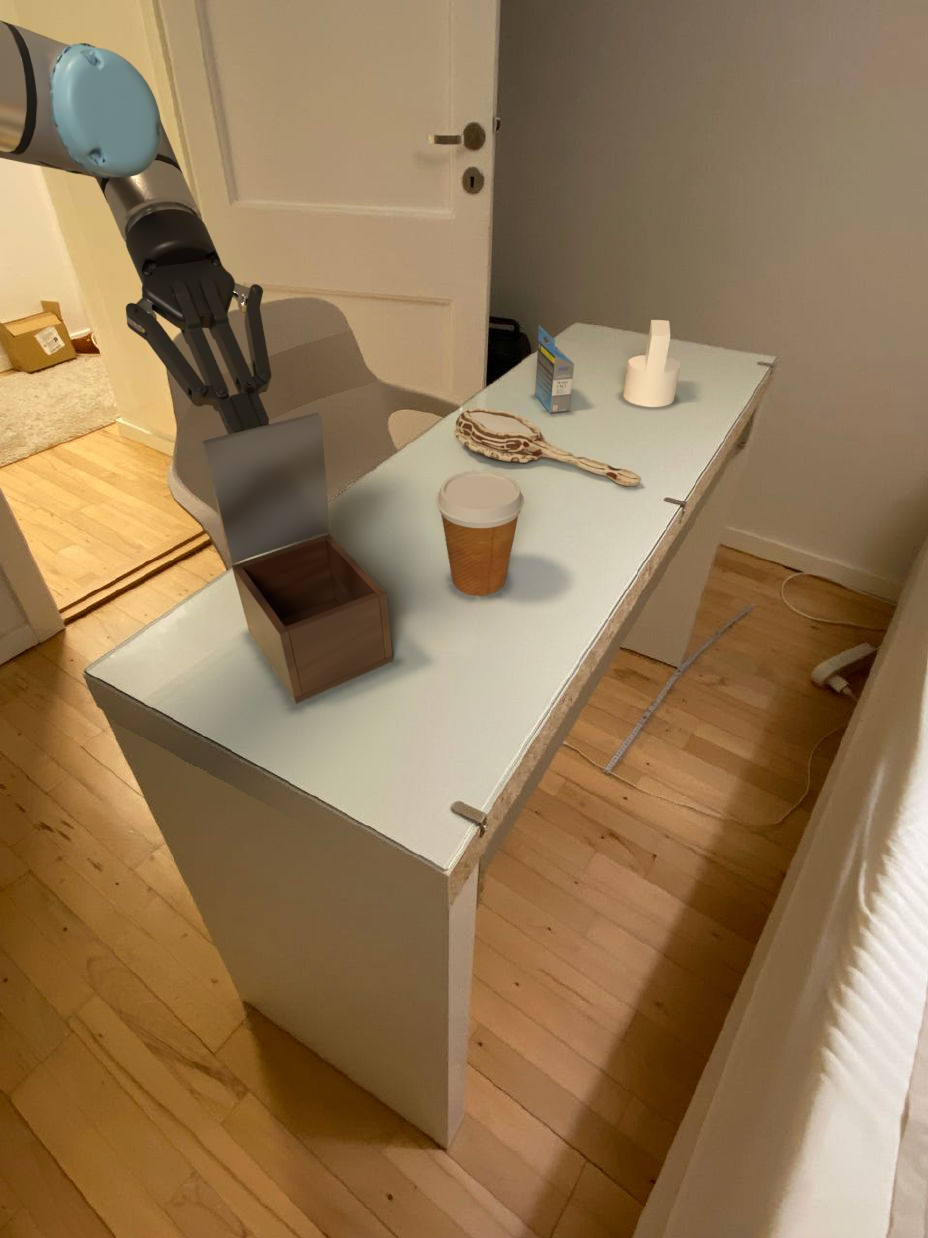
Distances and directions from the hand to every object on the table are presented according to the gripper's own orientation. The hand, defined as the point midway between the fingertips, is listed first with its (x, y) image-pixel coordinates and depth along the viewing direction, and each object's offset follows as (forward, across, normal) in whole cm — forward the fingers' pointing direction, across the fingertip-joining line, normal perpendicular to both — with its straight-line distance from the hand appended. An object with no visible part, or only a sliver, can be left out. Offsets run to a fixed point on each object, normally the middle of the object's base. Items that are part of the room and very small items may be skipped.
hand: (264, 463), depth 64 cm
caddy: (+17, 0, -8) cm, 19 cm away
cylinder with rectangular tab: (-3, -78, -29) cm, 83 cm away
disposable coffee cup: (+17, -20, -9) cm, 28 cm away
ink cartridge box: (-8, -61, -34) cm, 71 cm away
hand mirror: (+4, -46, -22) cm, 51 cm away
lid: (+3, 0, -1) cm, 3 cm away
